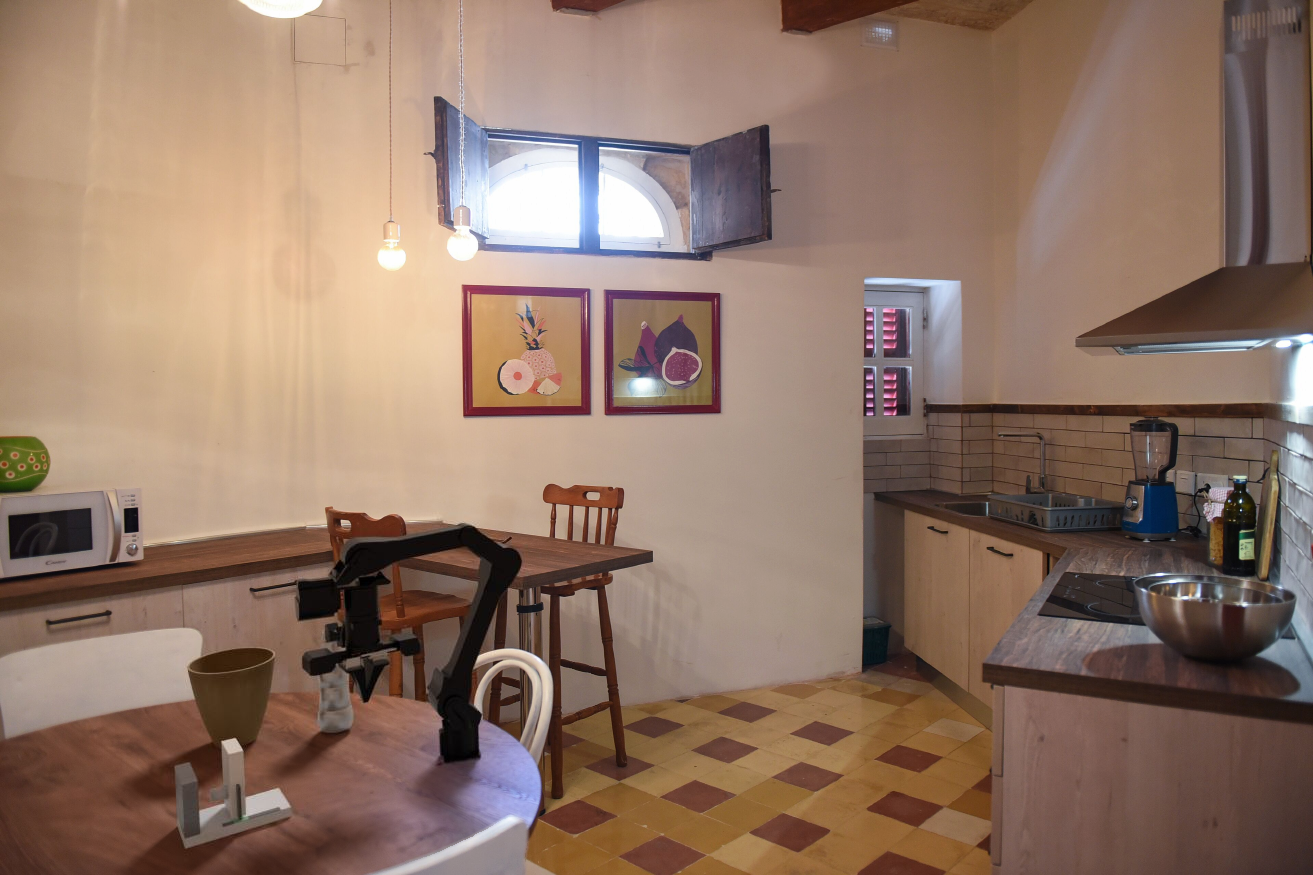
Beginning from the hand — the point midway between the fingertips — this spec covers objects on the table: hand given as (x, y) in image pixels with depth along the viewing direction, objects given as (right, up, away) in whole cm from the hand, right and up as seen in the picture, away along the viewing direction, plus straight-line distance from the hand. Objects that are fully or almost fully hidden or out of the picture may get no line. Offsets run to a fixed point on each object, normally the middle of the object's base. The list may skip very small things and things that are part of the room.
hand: (365, 701), depth 140 cm
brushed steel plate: (-20, -13, -18) cm, 30 cm away
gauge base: (-15, -14, -14) cm, 25 cm away
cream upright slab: (-16, -12, -15) cm, 25 cm away
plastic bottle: (-13, -12, +20) cm, 27 cm away
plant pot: (-31, -13, +16) cm, 37 cm away
